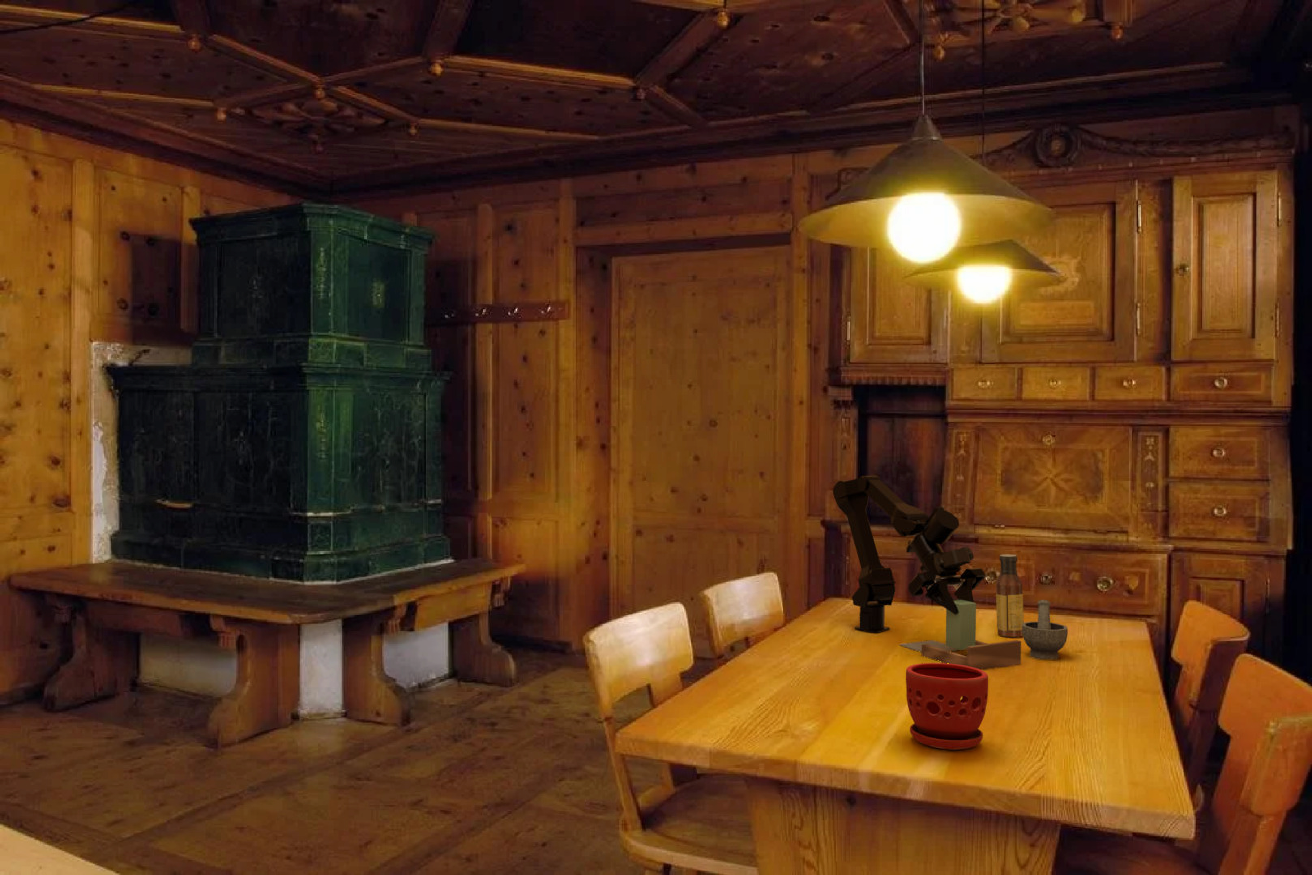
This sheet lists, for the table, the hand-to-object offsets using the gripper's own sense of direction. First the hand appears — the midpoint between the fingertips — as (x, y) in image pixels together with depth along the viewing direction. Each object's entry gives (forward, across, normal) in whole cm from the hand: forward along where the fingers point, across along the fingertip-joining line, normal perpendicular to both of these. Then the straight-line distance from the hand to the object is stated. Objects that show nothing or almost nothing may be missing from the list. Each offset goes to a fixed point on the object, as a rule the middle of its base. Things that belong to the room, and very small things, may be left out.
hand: (965, 612), depth 222 cm
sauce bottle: (-2, +27, +16) cm, 31 cm away
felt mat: (0, 0, +15) cm, 15 cm away
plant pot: (+37, -44, -22) cm, 61 cm away
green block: (+5, 0, +7) cm, 8 cm away
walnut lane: (+8, 0, +6) cm, 10 cm away
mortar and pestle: (+12, +18, +3) cm, 22 cm away
